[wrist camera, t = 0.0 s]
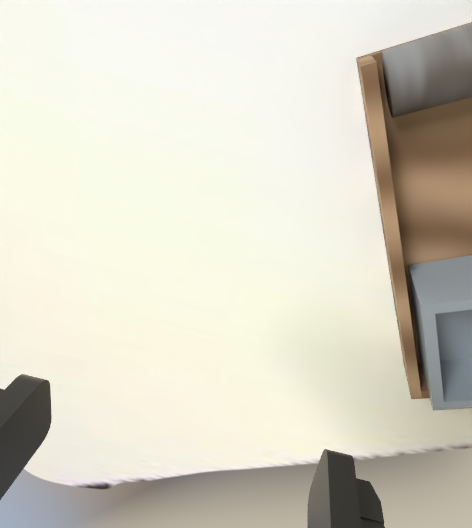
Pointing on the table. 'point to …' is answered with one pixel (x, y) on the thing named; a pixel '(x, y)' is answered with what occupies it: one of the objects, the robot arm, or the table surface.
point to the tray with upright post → (444, 329)
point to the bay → (421, 162)
